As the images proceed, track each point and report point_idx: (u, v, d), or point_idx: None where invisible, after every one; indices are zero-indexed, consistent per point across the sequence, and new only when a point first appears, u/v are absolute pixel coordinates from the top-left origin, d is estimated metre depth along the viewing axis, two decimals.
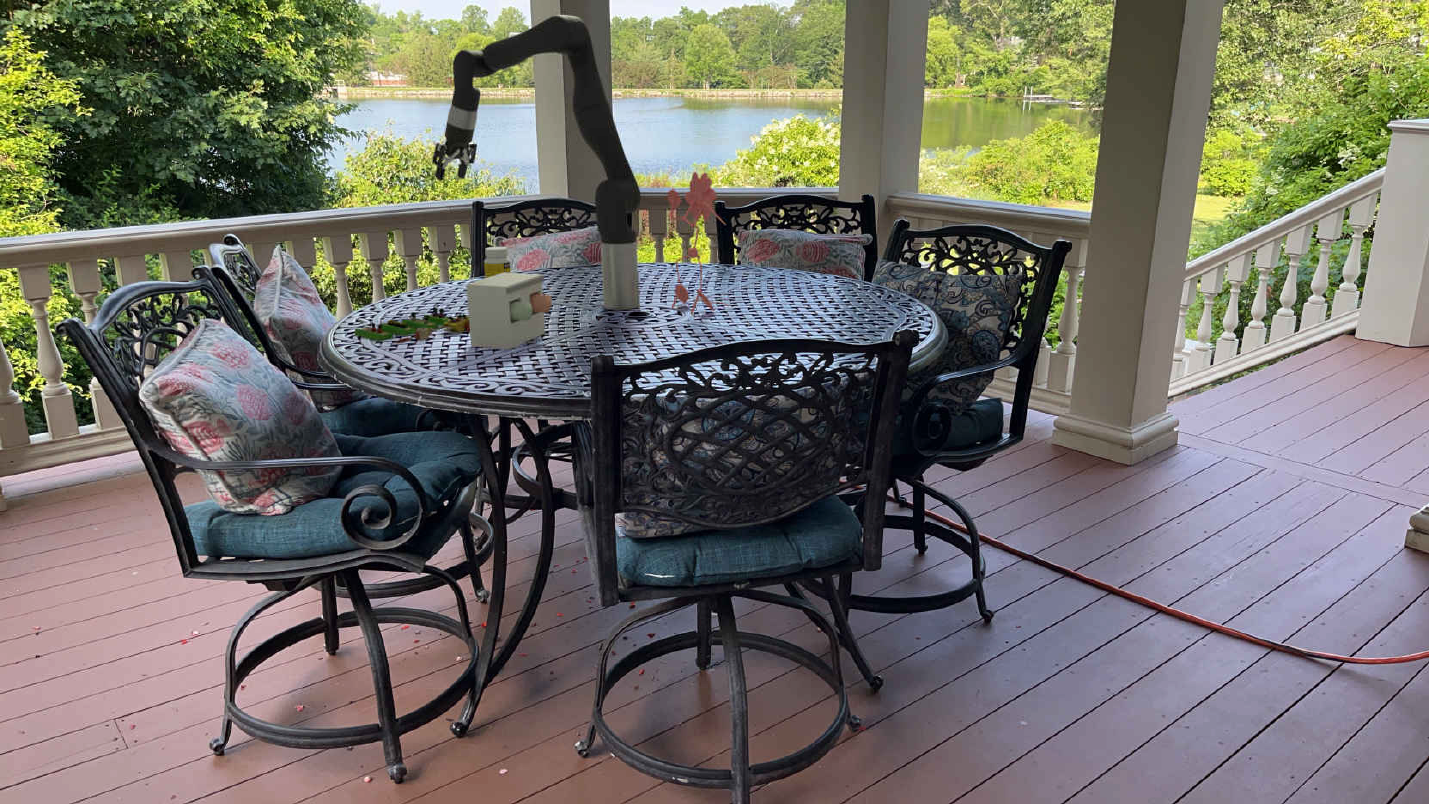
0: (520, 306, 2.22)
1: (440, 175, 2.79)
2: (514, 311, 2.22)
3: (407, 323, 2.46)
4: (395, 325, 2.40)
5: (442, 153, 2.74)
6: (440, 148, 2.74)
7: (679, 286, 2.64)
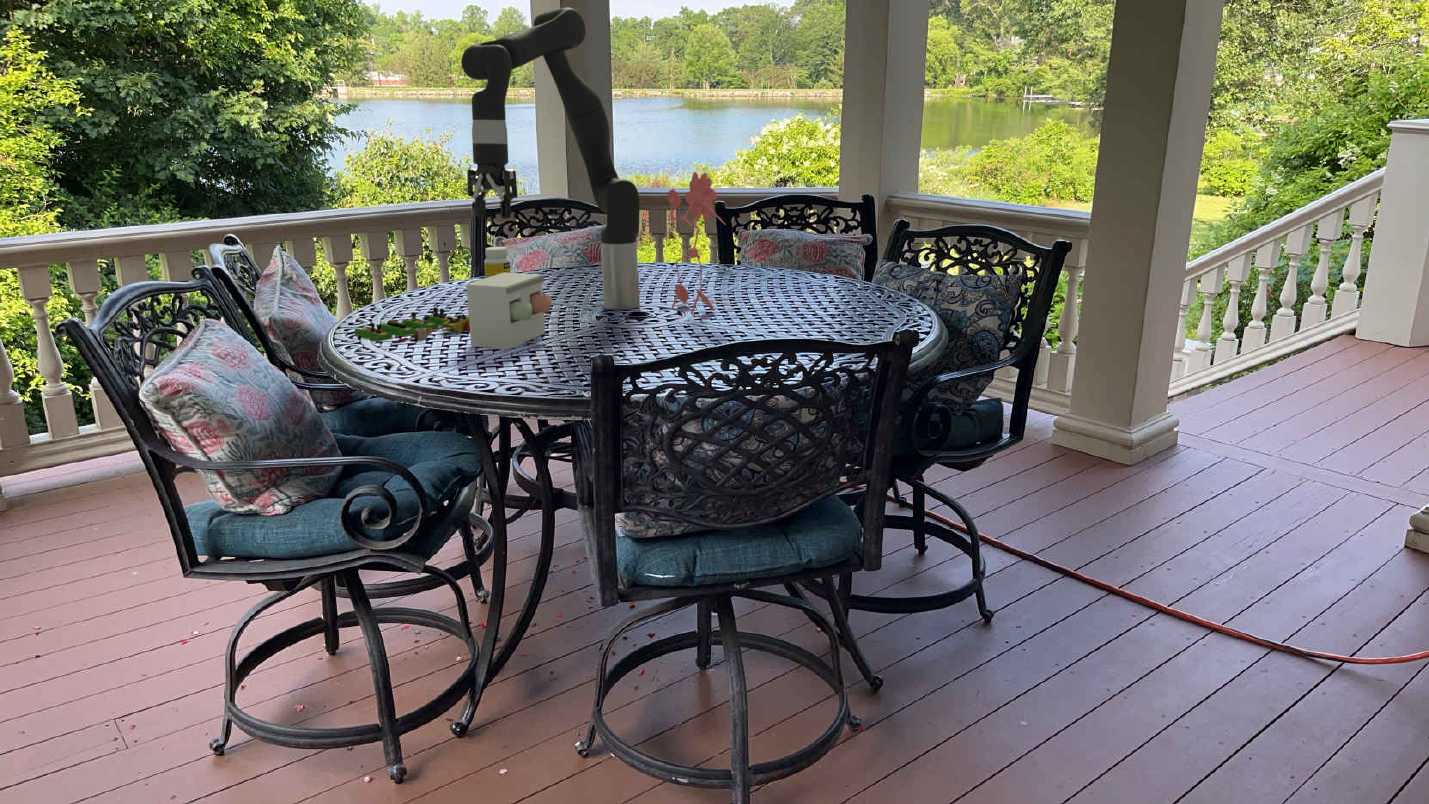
0: (520, 306, 2.22)
1: None
2: (514, 311, 2.22)
3: (407, 323, 2.46)
4: (395, 325, 2.40)
5: None
6: (513, 174, 2.17)
7: (679, 286, 2.64)
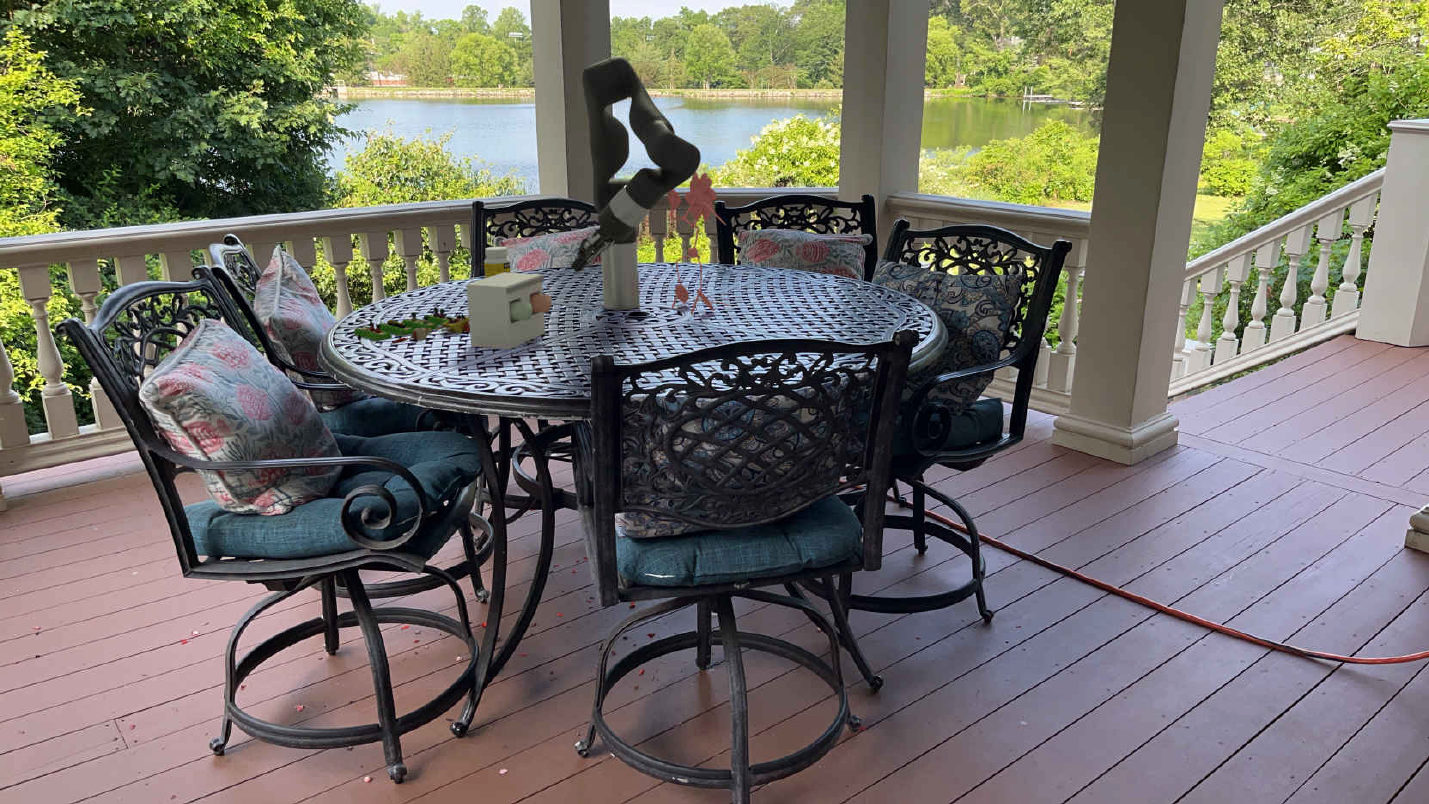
0: (520, 306, 2.22)
1: None
2: (514, 311, 2.22)
3: (407, 323, 2.46)
4: (394, 325, 2.40)
5: None
6: None
7: (679, 286, 2.64)
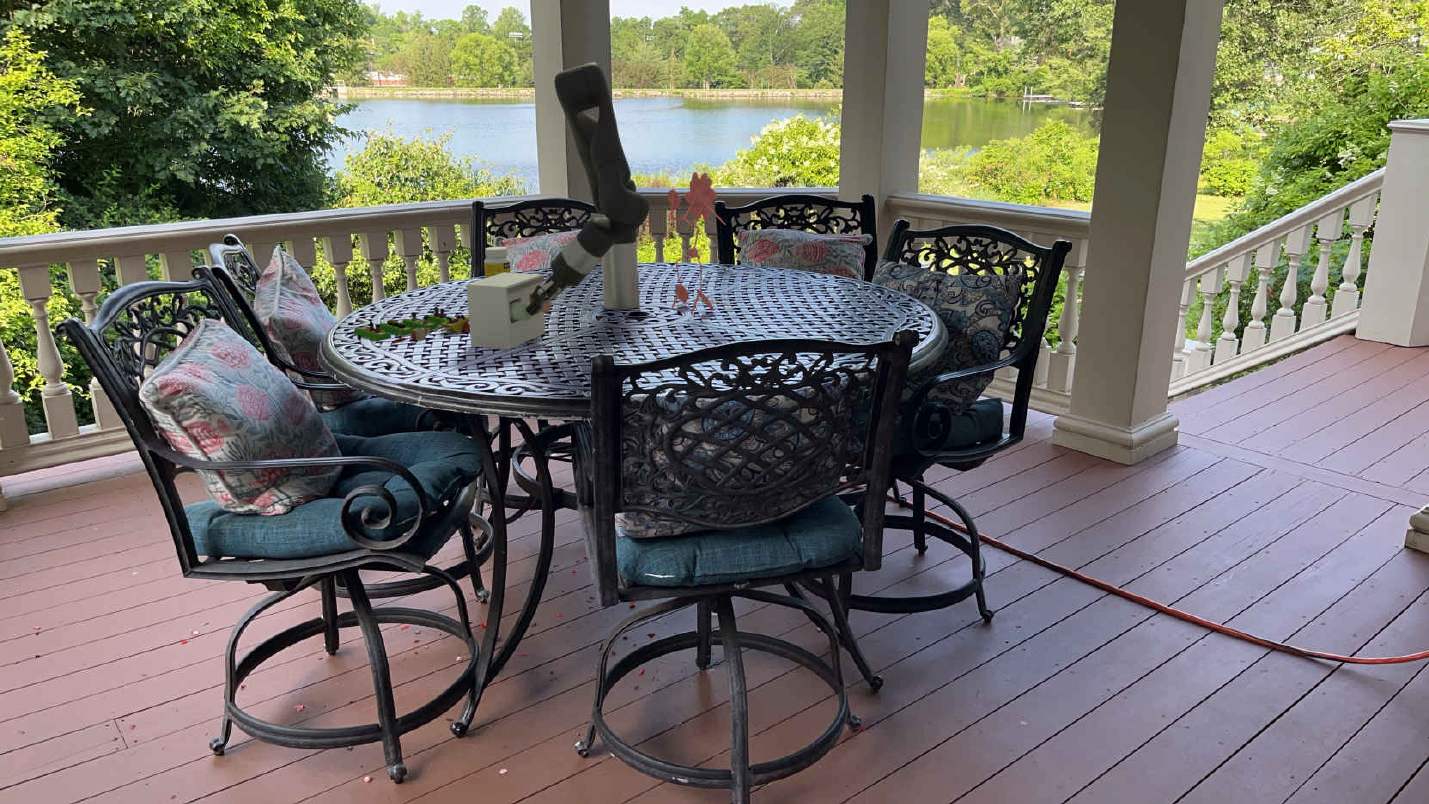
0: (520, 306, 2.22)
1: None
2: (514, 311, 2.22)
3: (407, 323, 2.46)
4: (394, 325, 2.40)
5: None
6: None
7: (679, 286, 2.64)
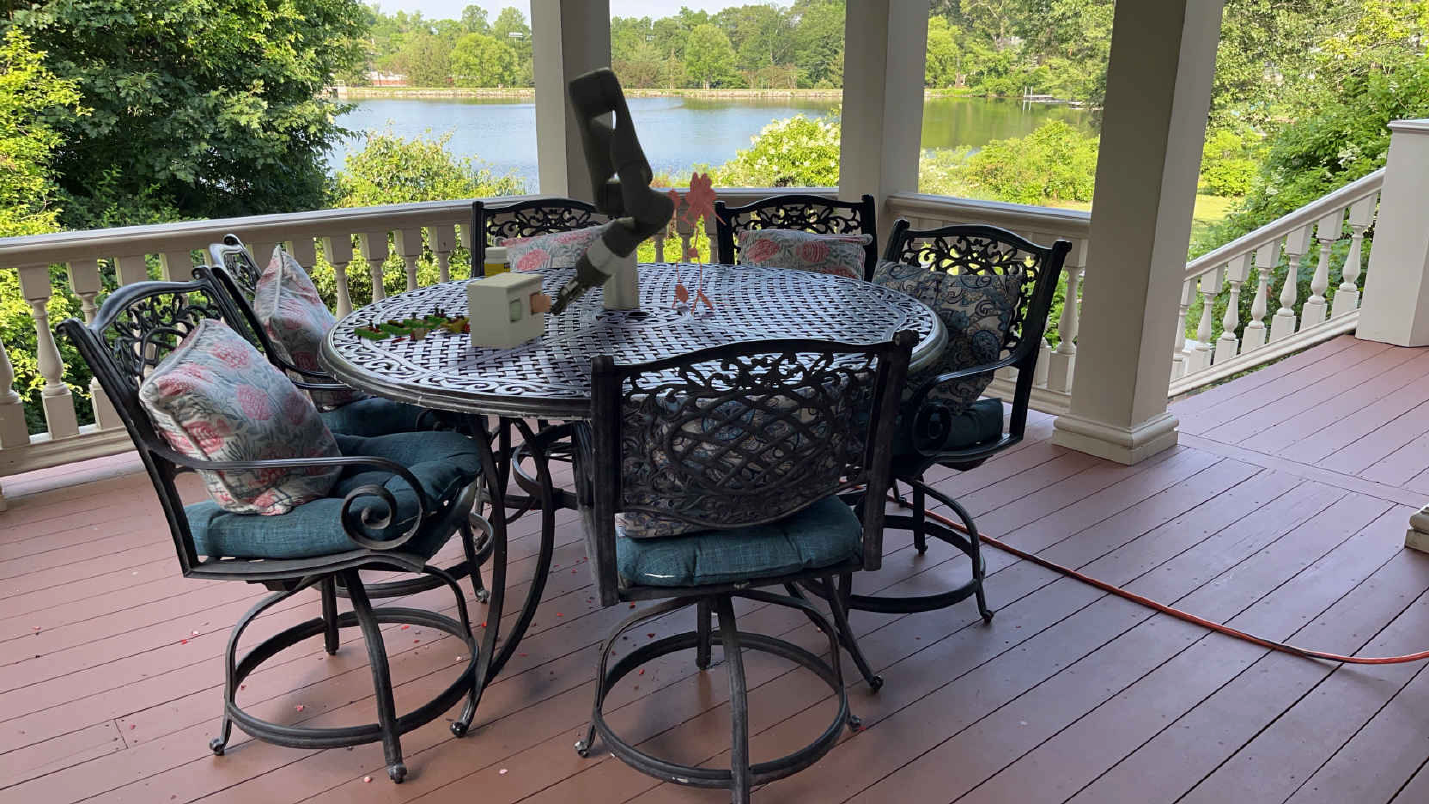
0: (511, 305, 2.23)
1: None
2: None
3: (407, 323, 2.46)
4: (394, 325, 2.41)
5: None
6: None
7: (679, 286, 2.64)
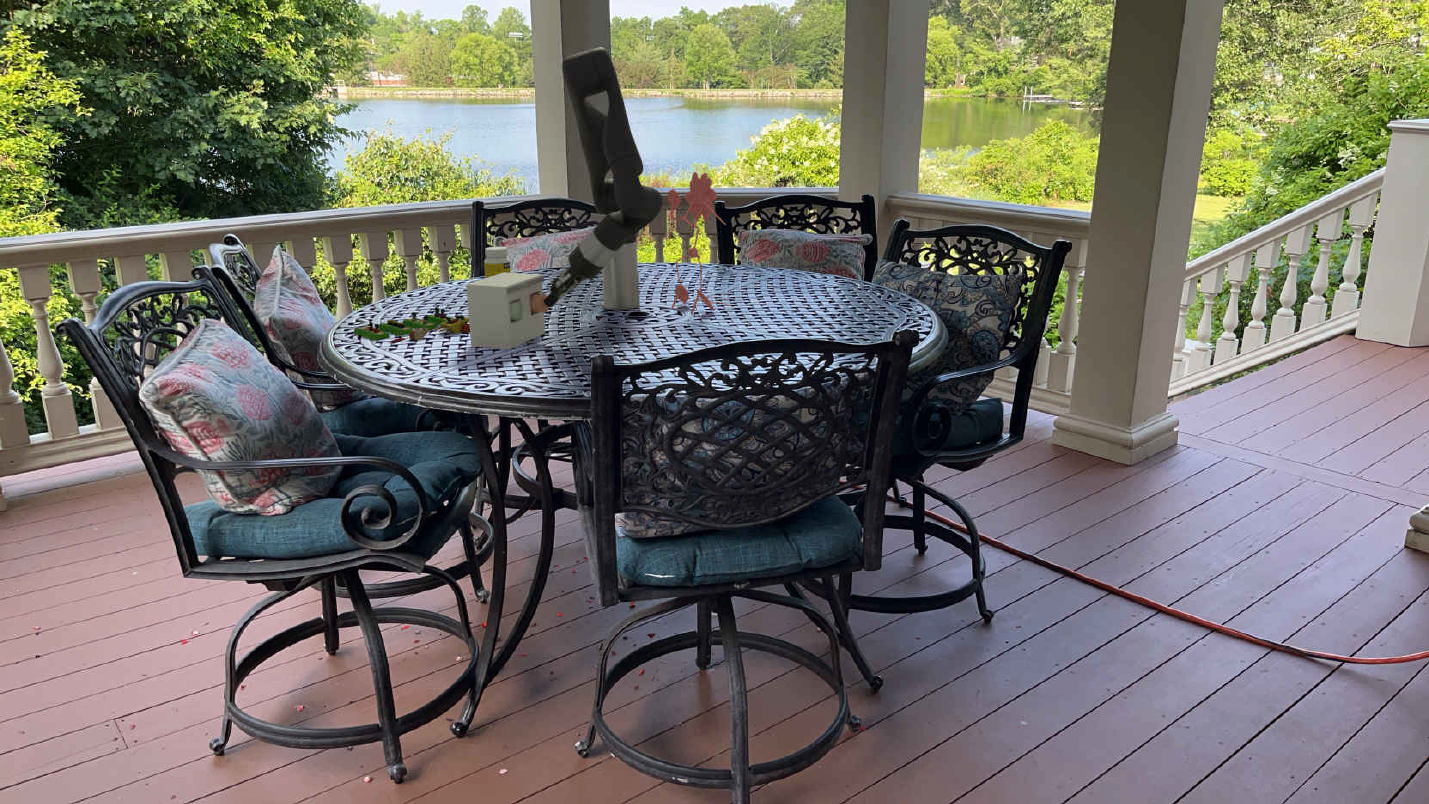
0: (511, 305, 2.23)
1: None
2: None
3: (407, 323, 2.46)
4: (394, 325, 2.41)
5: None
6: None
7: (679, 286, 2.64)
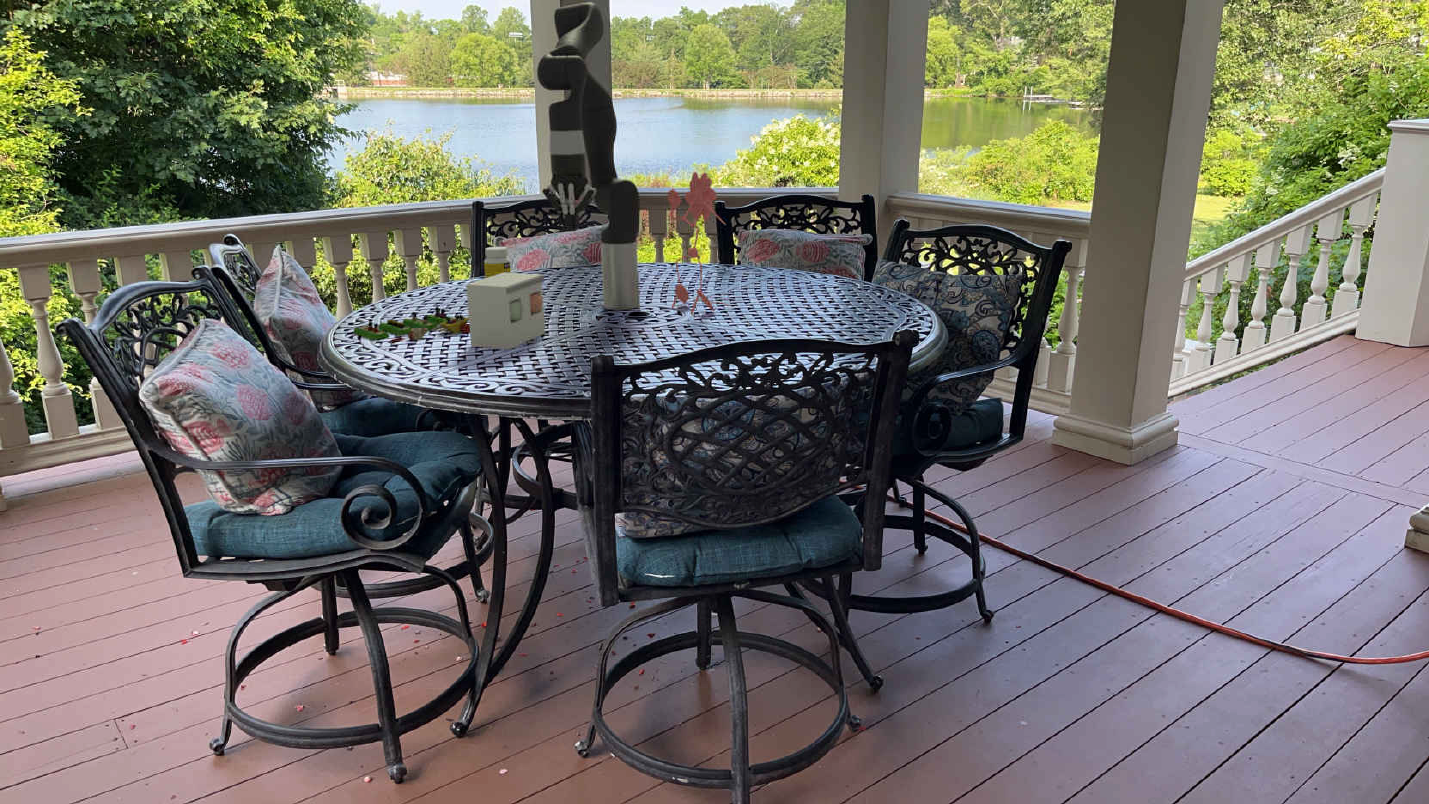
0: (511, 305, 2.23)
1: None
2: None
3: (408, 323, 2.46)
4: (393, 324, 2.41)
5: None
6: (595, 194, 2.23)
7: (679, 286, 2.64)
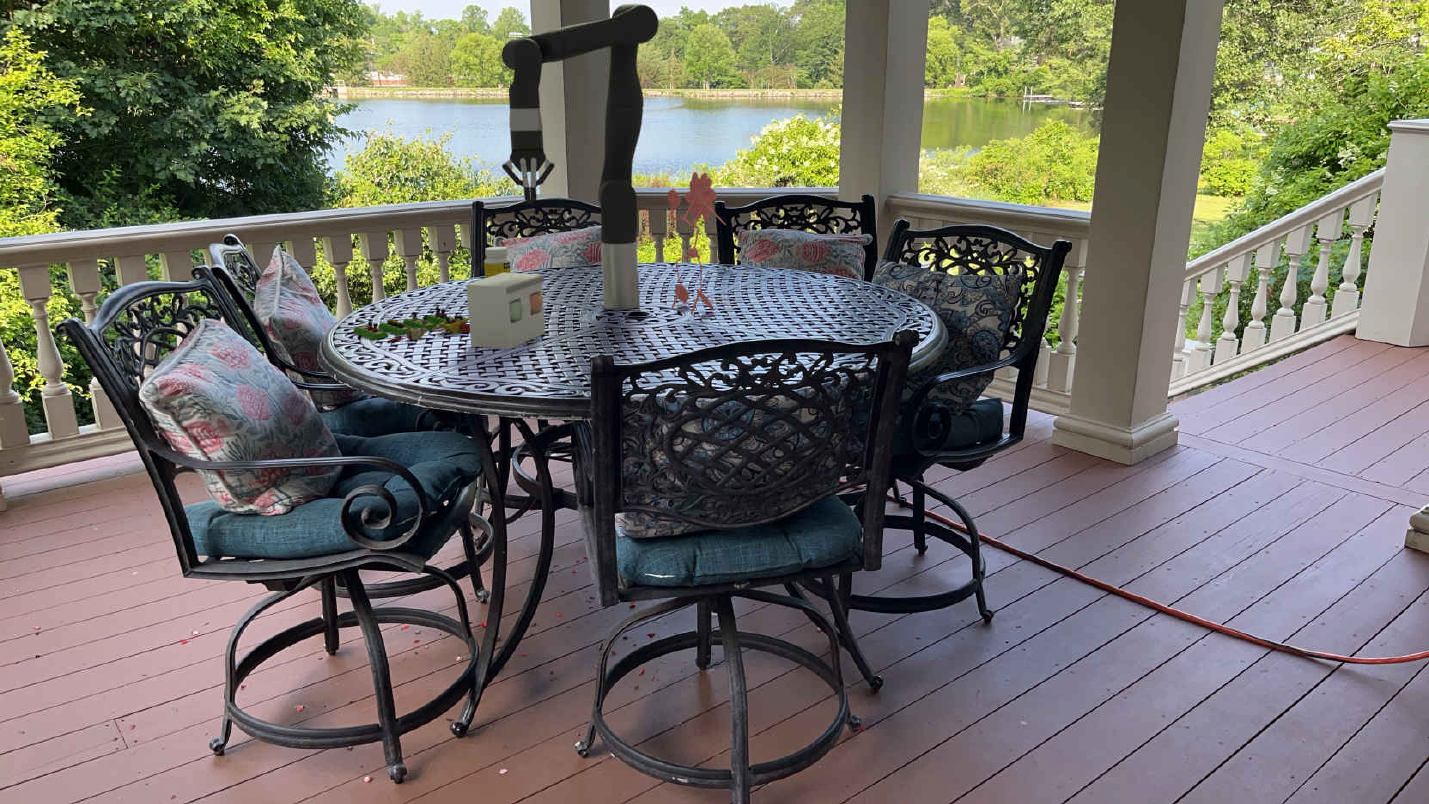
0: (511, 305, 2.23)
1: None
2: None
3: (408, 322, 2.46)
4: (393, 324, 2.41)
5: None
6: None
7: (679, 286, 2.64)
